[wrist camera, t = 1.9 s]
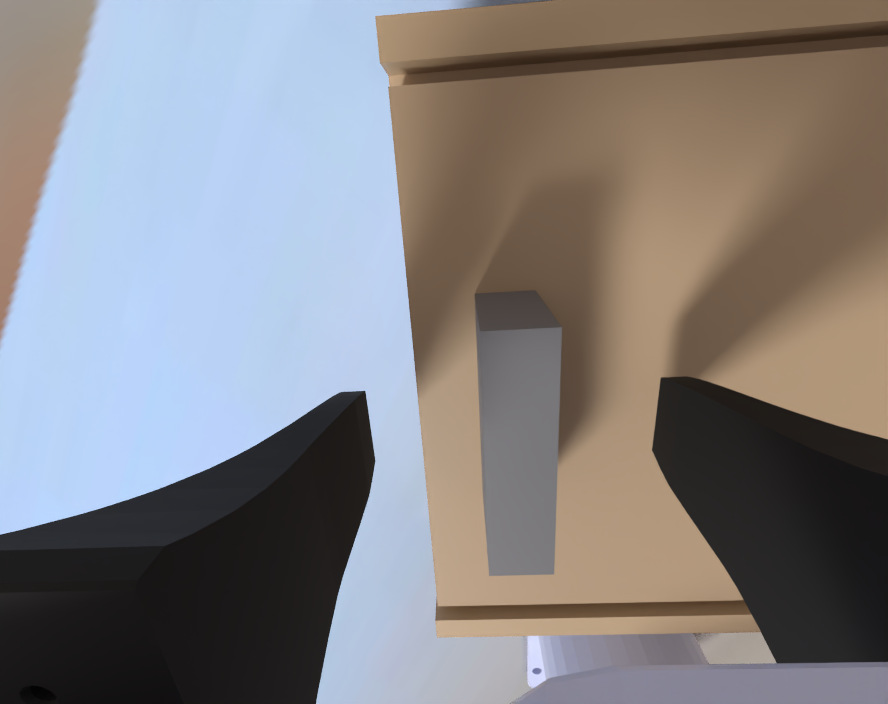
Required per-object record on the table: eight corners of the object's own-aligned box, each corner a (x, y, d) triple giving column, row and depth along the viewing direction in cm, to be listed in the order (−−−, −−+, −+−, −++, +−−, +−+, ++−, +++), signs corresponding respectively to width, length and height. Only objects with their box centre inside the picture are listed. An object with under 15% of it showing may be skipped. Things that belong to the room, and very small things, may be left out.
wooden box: (786, 491, 21) (932, 629, 14) (443, 502, 21) (437, 637, 15) (900, 45, 14) (1248, -62, 8) (410, 86, 15) (375, 16, 9)
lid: (913, 577, 15) (1054, 699, 11) (438, 588, 15) (433, 705, 12) (1139, 33, 9) (1541, -56, 6) (392, 92, 10) (359, 46, 7)
